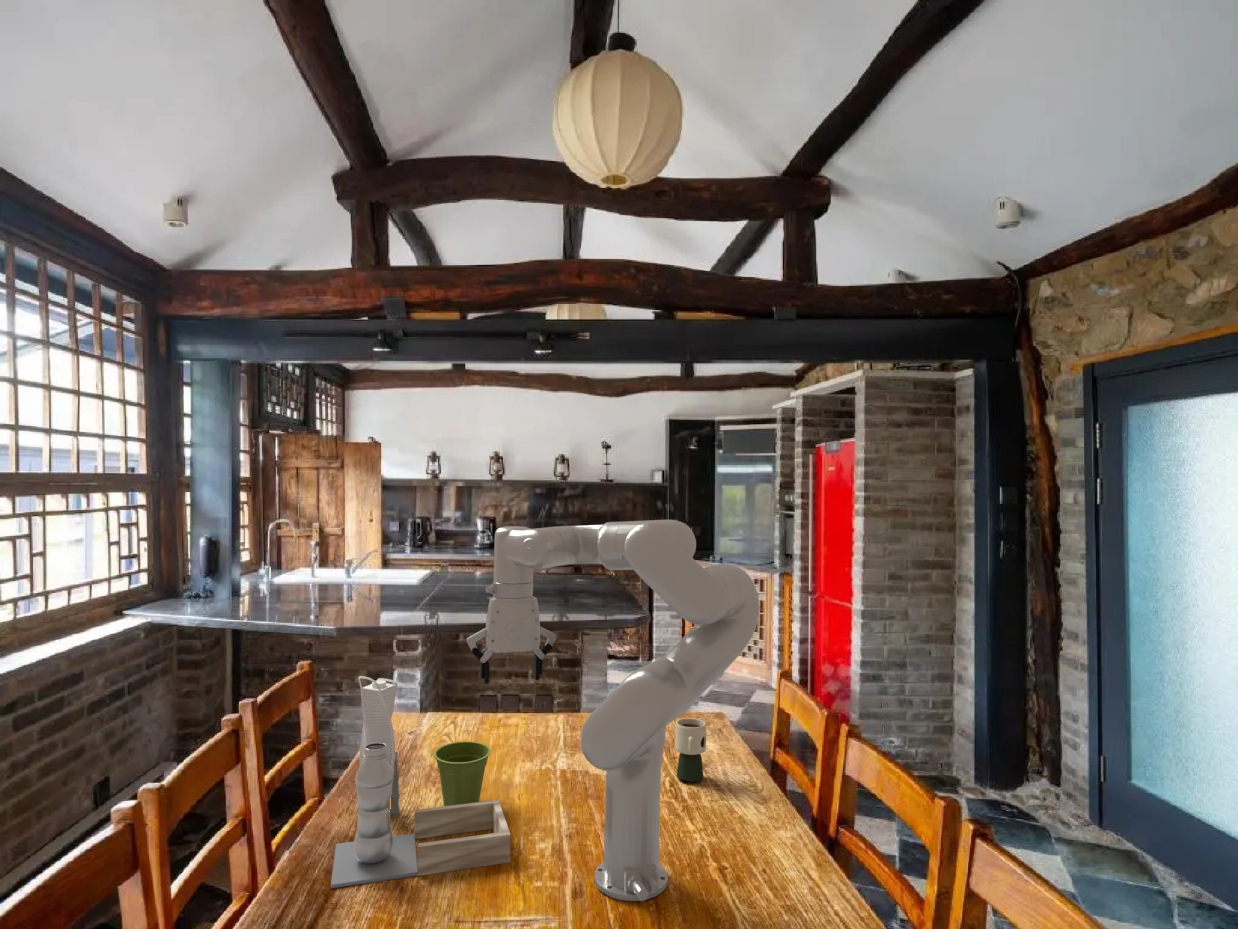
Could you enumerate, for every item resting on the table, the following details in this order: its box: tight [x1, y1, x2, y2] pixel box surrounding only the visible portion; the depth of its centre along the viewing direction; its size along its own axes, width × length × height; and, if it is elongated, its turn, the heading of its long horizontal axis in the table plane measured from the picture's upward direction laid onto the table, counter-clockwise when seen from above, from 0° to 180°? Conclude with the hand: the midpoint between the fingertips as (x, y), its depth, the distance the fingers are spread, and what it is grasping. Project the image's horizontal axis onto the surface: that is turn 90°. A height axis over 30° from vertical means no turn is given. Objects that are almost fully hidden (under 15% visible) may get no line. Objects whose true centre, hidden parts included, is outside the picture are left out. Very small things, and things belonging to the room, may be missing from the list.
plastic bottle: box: [354, 743, 393, 864], centre depth 128 cm, size 6×7×20 cm
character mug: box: [674, 717, 707, 783], centre depth 166 cm, size 11×7×13 cm, turn 175°
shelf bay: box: [413, 799, 511, 877], centre depth 133 cm, size 14×16×5 cm
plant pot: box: [433, 740, 492, 806], centre depth 151 cm, size 12×12×11 cm
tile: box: [330, 833, 418, 889], centre depth 129 cm, size 14×14×1 cm
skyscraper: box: [357, 675, 401, 816], centre depth 149 cm, size 8×8×28 cm
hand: (511, 680), depth 138 cm, fingers open, 9 cm apart
